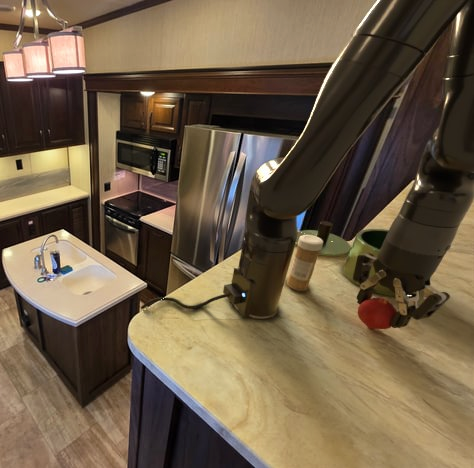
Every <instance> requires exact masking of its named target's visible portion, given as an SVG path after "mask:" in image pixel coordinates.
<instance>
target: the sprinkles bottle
mask: <svg viewBox="0 0 474 468" xmlns="http://www.w3.org/2000/svg"><path fill="white" fill-rule="evenodd" d="M322 245H323V240H322V239H320V238H319V237H316V236H313V235H302V236H300V238H299V241H298V246H297V248H296V250H295V251H296V252H295V254H294V257H293V261H292V264H291V267H290V271H289V276H288V278H287V281H286V284H287V286H288V287H289V288H290V289H292V290H294V291H298V292H305V291H307V290H308V289H309V284H310V281H311V279H312V276H313V273H314V270H315V266H316V264H317V260H318V257H319V251H320V250H321V248H322Z"/></svg>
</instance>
